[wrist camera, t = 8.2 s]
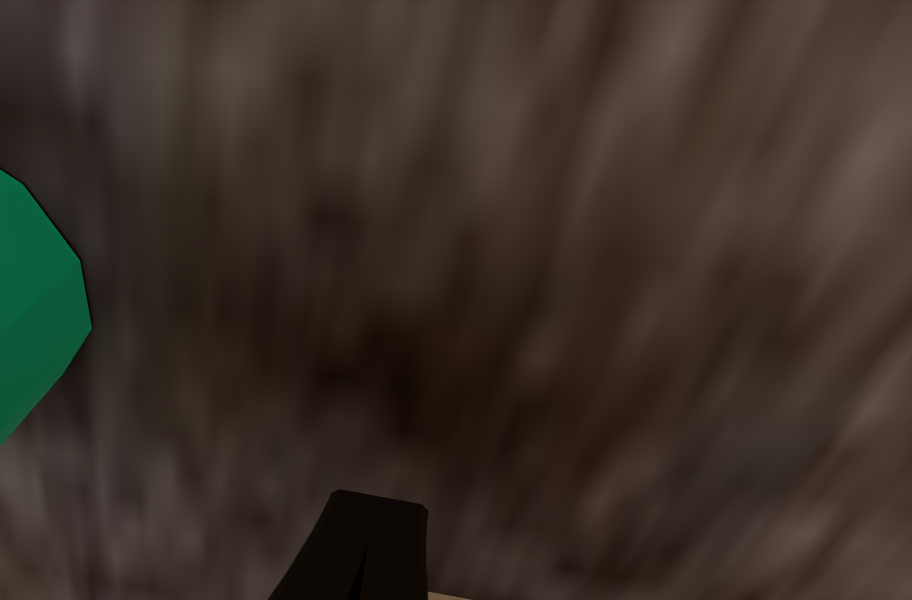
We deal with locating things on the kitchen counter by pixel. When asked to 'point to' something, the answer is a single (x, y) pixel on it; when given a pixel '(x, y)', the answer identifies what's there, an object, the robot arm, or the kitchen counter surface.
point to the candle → (34, 304)
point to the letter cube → (442, 597)
